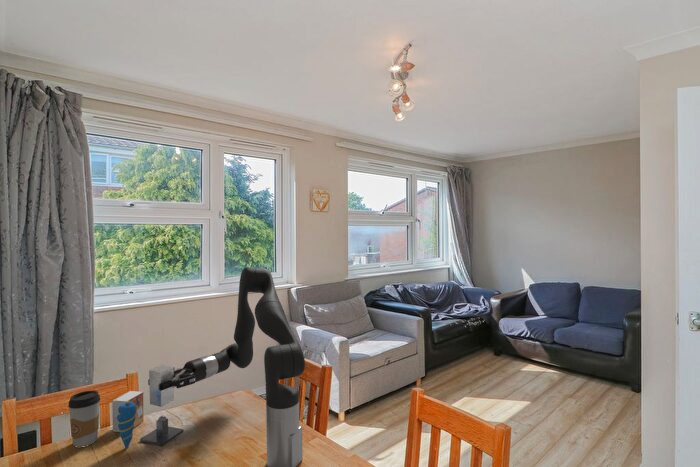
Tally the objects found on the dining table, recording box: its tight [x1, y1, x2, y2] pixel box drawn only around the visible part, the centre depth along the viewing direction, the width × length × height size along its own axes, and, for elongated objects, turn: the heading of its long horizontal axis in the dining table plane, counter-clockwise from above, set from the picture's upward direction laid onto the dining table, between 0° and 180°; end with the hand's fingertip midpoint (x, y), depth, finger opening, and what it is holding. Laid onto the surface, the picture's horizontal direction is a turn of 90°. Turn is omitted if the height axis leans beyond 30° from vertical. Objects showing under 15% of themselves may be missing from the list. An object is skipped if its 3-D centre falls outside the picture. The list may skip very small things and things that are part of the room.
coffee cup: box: [67, 390, 101, 447], centre depth 121 cm, size 8×8×15 cm
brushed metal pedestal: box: [148, 364, 175, 408], centre depth 125 cm, size 5×5×11 cm
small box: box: [111, 390, 145, 433], centre depth 131 cm, size 8×6×10 cm
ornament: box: [117, 401, 136, 449], centre depth 118 cm, size 5×5×15 cm
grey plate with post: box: [139, 415, 185, 447], centre depth 125 cm, size 9×9×7 cm
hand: (154, 385), depth 123 cm, fingers closed on brushed metal pedestal, 5 cm apart
